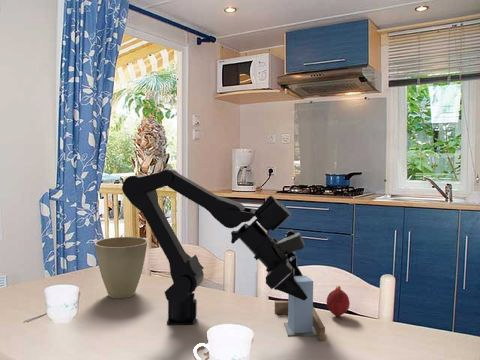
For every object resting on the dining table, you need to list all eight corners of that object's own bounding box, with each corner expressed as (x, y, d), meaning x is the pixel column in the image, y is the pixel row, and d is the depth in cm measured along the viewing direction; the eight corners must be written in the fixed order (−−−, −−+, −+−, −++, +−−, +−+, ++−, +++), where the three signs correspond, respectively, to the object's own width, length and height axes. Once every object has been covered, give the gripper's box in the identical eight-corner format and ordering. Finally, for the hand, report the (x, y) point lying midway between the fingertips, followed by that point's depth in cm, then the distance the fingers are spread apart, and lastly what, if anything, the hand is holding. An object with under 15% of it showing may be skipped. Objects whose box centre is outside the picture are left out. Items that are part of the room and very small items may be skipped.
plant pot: (84, 297, 117) (83, 242, 117) (123, 284, 130) (123, 235, 129) (119, 307, 109) (119, 249, 109) (158, 292, 122) (157, 240, 121)
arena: (282, 340, 90) (283, 327, 90) (274, 312, 107) (274, 300, 107) (324, 340, 90) (325, 327, 90) (309, 311, 107) (310, 300, 107)
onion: (349, 322, 101) (350, 290, 100) (326, 320, 102) (326, 288, 101) (348, 313, 106) (349, 283, 106) (326, 311, 108) (326, 282, 107)
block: (293, 333, 93) (294, 282, 93) (288, 325, 97) (288, 276, 97) (312, 331, 94) (313, 281, 93) (305, 324, 98) (306, 275, 98)
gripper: (281, 227, 86) (333, 281, 85) (287, 216, 105) (330, 260, 103) (244, 262, 88) (295, 315, 87) (257, 244, 106) (298, 288, 105)
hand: (306, 292), depth 95 cm, fingers open, 9 cm apart
